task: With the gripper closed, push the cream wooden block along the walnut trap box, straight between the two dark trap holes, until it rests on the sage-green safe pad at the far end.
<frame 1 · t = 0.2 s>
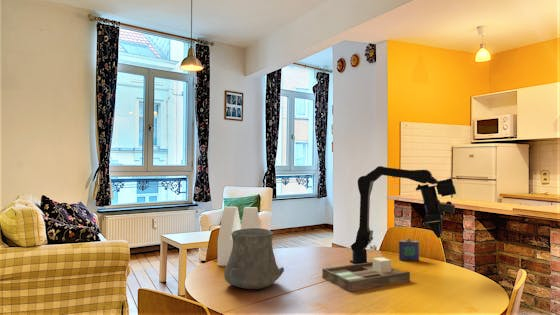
hand: (440, 235, 153), 15 cm above the table, tool pointing down, fingers open, 9 cm apart
vessel: (254, 286, 135), on the table
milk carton: (240, 261, 171), on the table
block: (381, 270, 146), point 2 cm above the table, touching trap box
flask: (409, 260, 172), on the table
trap box: (365, 279, 143), on the table
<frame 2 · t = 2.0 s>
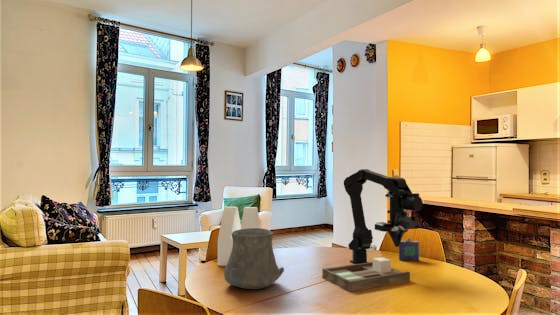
hand: (396, 246, 150), 11 cm above the table, tool pointing down, fingers closed
nothing on the table moved.
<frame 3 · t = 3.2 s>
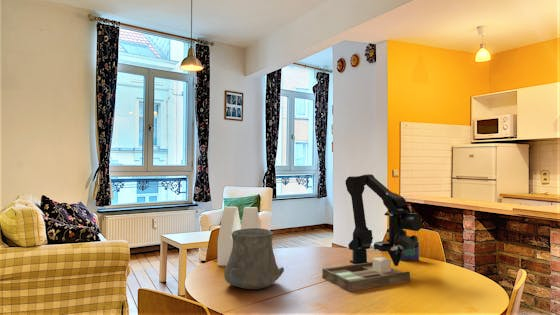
hand: (396, 265, 150), 3 cm above the table, tool pointing down, fingers closed
nothing on the table moved.
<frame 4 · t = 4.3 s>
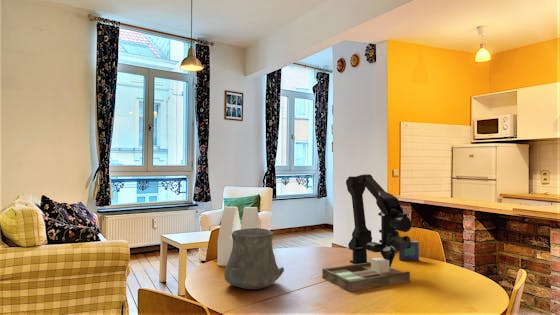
hand: (389, 266, 148), 4 cm above the table, tool pointing down, fingers closed
block: (380, 270, 146), point 3 cm above the table, touching gripper, trap box
everything else where it was.
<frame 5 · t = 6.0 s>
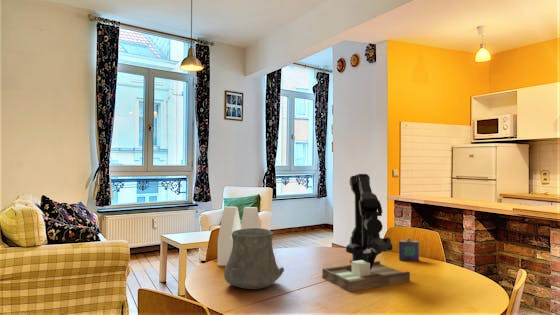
hand: (369, 269, 144), 4 cm above the table, tool pointing down, fingers closed
block: (360, 273, 142), point 3 cm above the table, touching gripper
everything else where it was.
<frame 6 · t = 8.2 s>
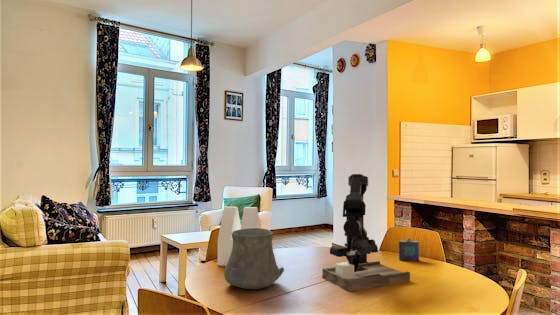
hand: (354, 271, 141), 4 cm above the table, tool pointing down, fingers closed
block: (344, 276, 139), point 2 cm above the table, touching gripper, trap box
everything else where it was.
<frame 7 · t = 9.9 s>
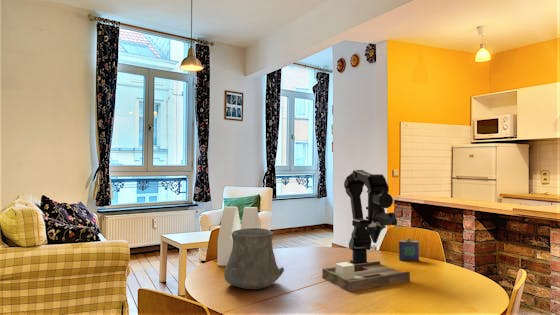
hand: (374, 242, 151), 13 cm above the table, tool pointing down, fingers closed
block: (344, 276, 139), point 2 cm above the table, touching trap box
everything else where it was.
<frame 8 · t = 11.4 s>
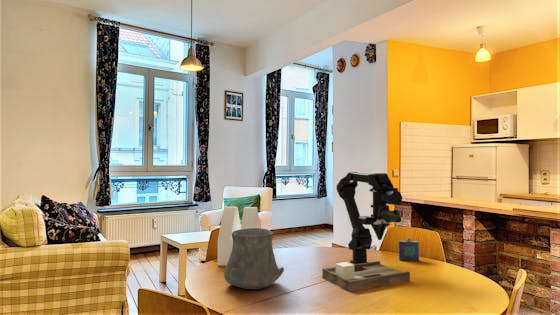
hand: (379, 239, 155), 13 cm above the table, tool pointing down, fingers closed
nothing on the table moved.
at the end: block inside the target area on the trap box (0.8 cm from its centre), point 2.5 cm above the trap box's base; block tilted 0° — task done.
